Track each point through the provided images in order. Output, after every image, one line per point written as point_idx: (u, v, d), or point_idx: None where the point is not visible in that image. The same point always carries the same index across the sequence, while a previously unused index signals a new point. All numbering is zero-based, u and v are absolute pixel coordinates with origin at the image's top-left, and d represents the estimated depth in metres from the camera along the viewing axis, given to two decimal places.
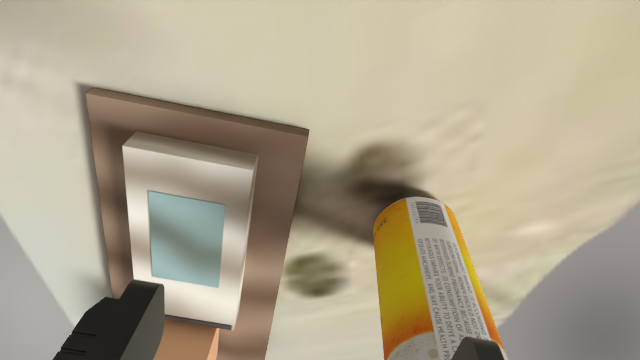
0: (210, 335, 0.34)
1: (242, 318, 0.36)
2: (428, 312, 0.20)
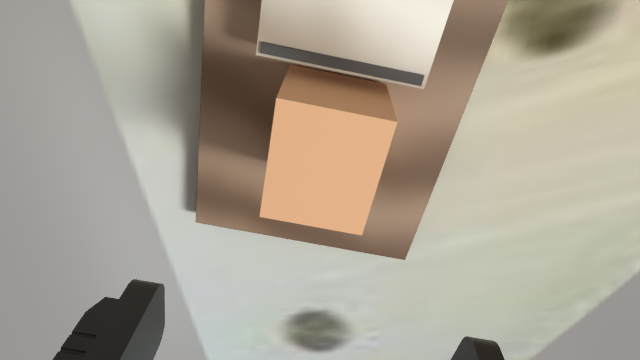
0: (383, 96, 0.19)
1: (418, 96, 0.21)
2: None
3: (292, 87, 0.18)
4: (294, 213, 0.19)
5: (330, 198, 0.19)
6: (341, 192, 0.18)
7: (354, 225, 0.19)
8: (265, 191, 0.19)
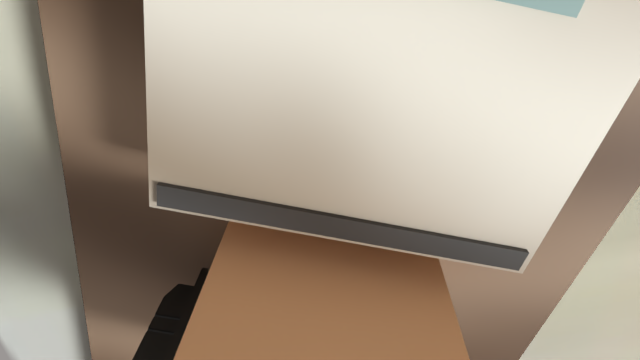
0: (434, 292, 0.09)
1: None
2: None
3: (223, 308, 0.07)
4: None
5: None
6: None
7: None
8: None
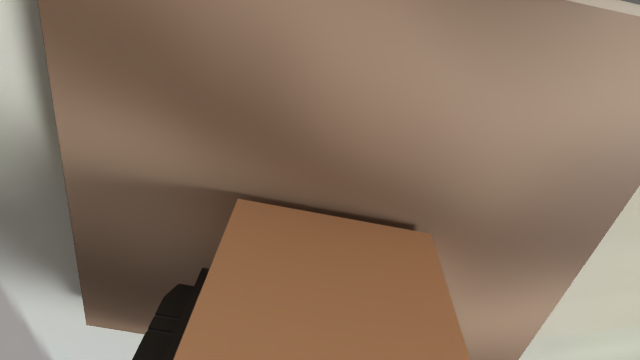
0: (434, 291, 0.09)
1: (591, 59, 0.08)
2: None
3: (223, 308, 0.07)
4: None
5: None
6: None
7: None
8: None
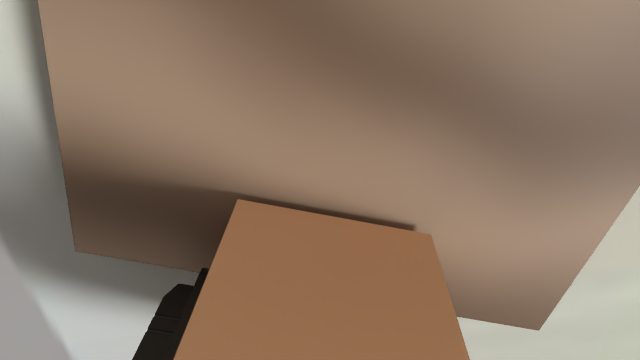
0: (434, 292, 0.09)
1: None
2: None
3: (224, 308, 0.07)
4: None
5: None
6: None
7: None
8: None
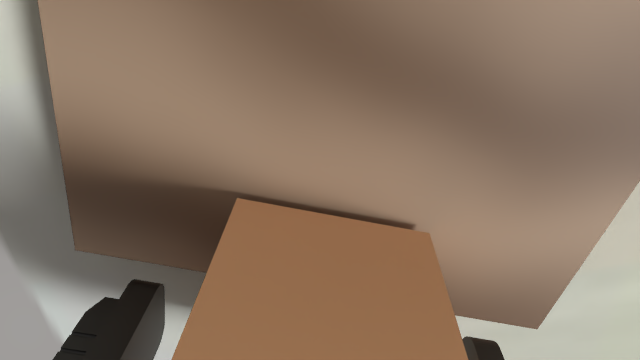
0: (432, 290, 0.09)
1: None
2: None
3: (222, 306, 0.07)
4: None
5: None
6: None
7: None
8: None
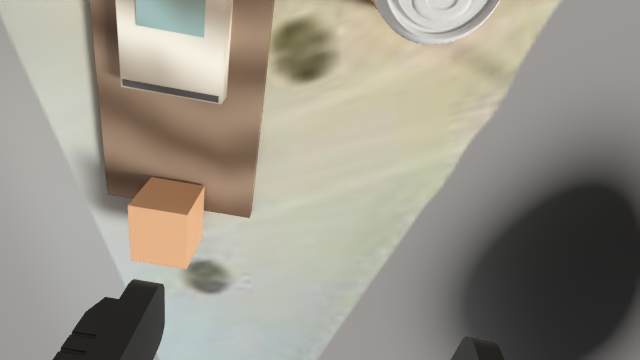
0: (194, 196, 0.37)
1: (230, 108, 0.35)
2: None
3: (141, 196, 0.35)
4: (149, 258, 0.37)
5: (165, 250, 0.36)
6: (169, 248, 0.36)
7: (181, 264, 0.37)
8: (131, 247, 0.36)
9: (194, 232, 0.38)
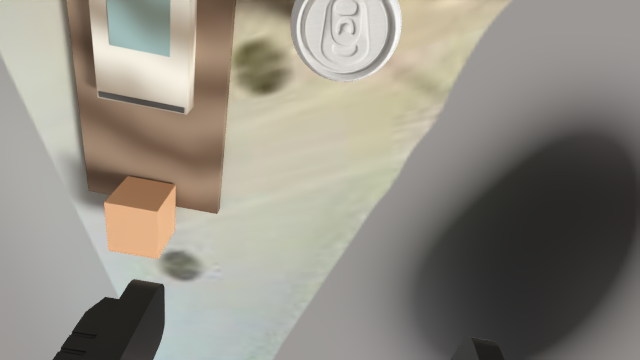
0: (165, 194, 0.41)
1: (196, 117, 0.39)
2: None
3: (117, 194, 0.40)
4: (124, 249, 0.41)
5: (138, 242, 0.41)
6: (142, 240, 0.40)
7: (153, 254, 0.41)
8: (108, 239, 0.41)
9: (165, 226, 0.42)
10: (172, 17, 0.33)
